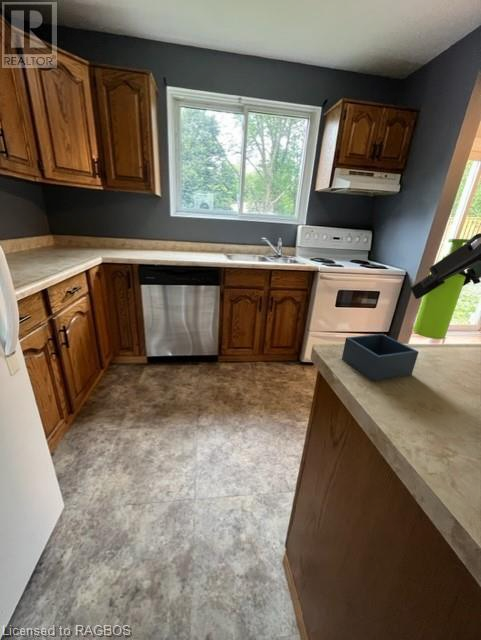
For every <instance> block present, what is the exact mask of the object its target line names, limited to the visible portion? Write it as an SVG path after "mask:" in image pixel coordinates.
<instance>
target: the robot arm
mask: <svg viewBox="0 0 481 640" xmlns="http://www.w3.org/2000/svg"><path fill="white" fill-rule="evenodd" d="M448 254H449V253H448ZM442 258H443V257H442ZM442 258H441V259H440V260H439V261H437V262H436V263H434V264H433V265H431V266H430V267H428V270H429V275H427V276H426V277H424V278H423V279H422V280H420V281H419V282H418V283H416V284H414V285H412V287H410V290H411V292H412V294H413V296H414V299H415V300H417V299H418V300H419V299H420V298H423V296H424V295H425V294H427V293H429V292H430V291H432V290H433V289H435V288H437V287H438V286H440V285H442V284H443V283H445V281H444V280H446V279H448V278H450V277H452V276H454V275H456V274H458V273H459V274H461V275H463V276H465V277H466V278H465V281H464V284H463V287H465V286H466V285H469V283H473V285H477V284H480V283H481V280H480V279H481V232H479V233H476V234H475V235H473V236H472V237H471V238H470V240H469V241H468V242H467V243H463V246H461V247H460V248H458V249H457V250H455V251H454V252H452V253H451V254H449V255H448V256H446V257H445V258H443V259H442ZM430 273H431V274H430Z"/></svg>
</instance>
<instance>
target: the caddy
mask: <svg viewBox="0 0 481 640" xmlns="http://www.w3.org/2000/svg"><path fill="white" fill-rule="evenodd" d="M341 355H342V356H341V360H342V361H343V362H345V363H346V364H348V365H349V366H351V367H352V368H354V369H355V370H356V371H358V373H360V374H361V375H363V376H364V377H366V378H367V379H369V380H370V381H371V382H378V381H383V380H389V379H395V378H401V377H406V376H407V377H408V376H412V375H413V373H414V369H415V365H416V363H417V362H416V361H417V359H418V355H419V350H416V349H414V348H412V347H411V346H408V345H406V344H404V343H402V342H400V341H398V340H396V339H395V338H392V337H390V336H389V335H386V334H384V333H378V334H377V333H376V334H365V335H358V336H357V335H355V336H348V337H345V341H344V346H343V350H342V354H341Z"/></svg>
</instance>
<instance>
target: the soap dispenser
mask: <svg viewBox="0 0 481 640" xmlns="http://www.w3.org/2000/svg"><path fill="white" fill-rule="evenodd" d="M470 239H471V238H470ZM470 239H468V238H449V239H448V241H447V243H451V246H450V249H449V252H448V253H447V254H445V255H442V258H441V260H442V259H443V258H445V257H446V256H448V255H449V254H451V253H452V252H454V251H455V250H457V249H458V248H460V247H461V246H463V245H464V244H466V243H467V242H468V241H469V240H470ZM430 274H431V272H429V275H430ZM465 278H466V277H465V276H463V275H461V274H459V273H458V274H456V275H454V276H452V277H450V278H448V279H446V280H444V281H445V283H443V284H442V285H440V286H438V287H437V288H435V289H433V290H432V291H430V292H429V293H427V294H425V295H424V296H422V300H421V303H420V306H419V309H418V312H417V316H416V319H415V323H414V326H413V328H412V331H413V333H415V334H417V335H419V336H421V337H424V338H427V339H433V340H444V339H446V335H447V332H448V330H449V327H450V324H451V321H452V318H453V316H454V313H455V309H456V306H457V304H458V301H459V298H460V295H461V292H462V290H463V287H464V286H463V284H464V281H465Z"/></svg>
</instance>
